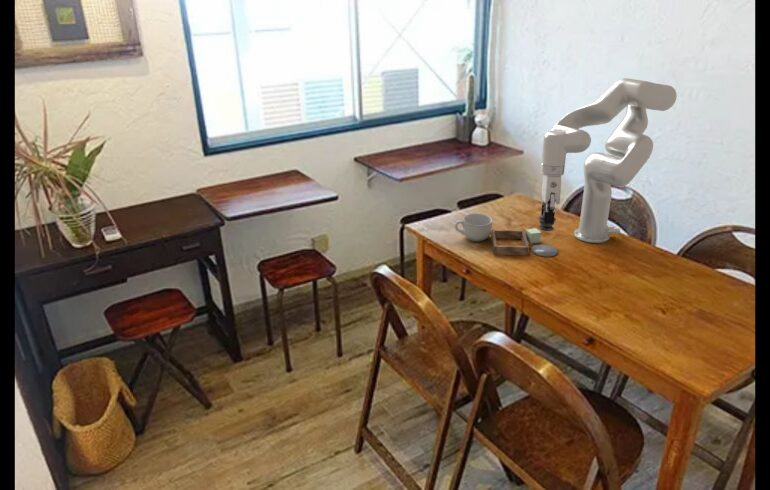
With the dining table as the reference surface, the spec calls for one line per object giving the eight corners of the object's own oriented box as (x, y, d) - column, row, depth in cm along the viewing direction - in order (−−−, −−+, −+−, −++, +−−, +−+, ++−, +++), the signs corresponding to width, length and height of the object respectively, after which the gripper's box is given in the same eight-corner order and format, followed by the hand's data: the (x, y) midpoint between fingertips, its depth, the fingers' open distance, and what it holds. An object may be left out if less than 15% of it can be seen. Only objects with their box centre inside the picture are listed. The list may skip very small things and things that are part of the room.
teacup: (490, 232, 219) (491, 213, 216) (492, 244, 209) (493, 224, 206) (453, 232, 220) (454, 212, 217) (454, 243, 211) (454, 223, 207)
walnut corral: (523, 237, 214) (524, 230, 213) (528, 255, 200) (528, 247, 199) (491, 236, 215) (491, 229, 214) (493, 254, 202) (493, 246, 201)
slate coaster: (555, 246, 206) (555, 244, 206) (559, 257, 198) (559, 255, 198) (530, 245, 207) (530, 244, 207) (532, 256, 199) (533, 254, 199)
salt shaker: (555, 225, 201) (559, 193, 196) (554, 232, 196) (557, 199, 191) (538, 224, 202) (541, 192, 197) (536, 230, 197) (539, 197, 192)
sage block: (535, 238, 214) (536, 228, 212) (540, 242, 210) (541, 232, 208) (525, 239, 213) (526, 229, 211) (530, 243, 209) (531, 233, 208)
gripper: (568, 177, 182) (562, 229, 189) (560, 161, 197) (554, 210, 205) (544, 176, 183) (539, 228, 190) (537, 161, 198) (533, 209, 206)
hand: (547, 218), depth 197 cm, fingers closed on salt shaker, 5 cm apart
